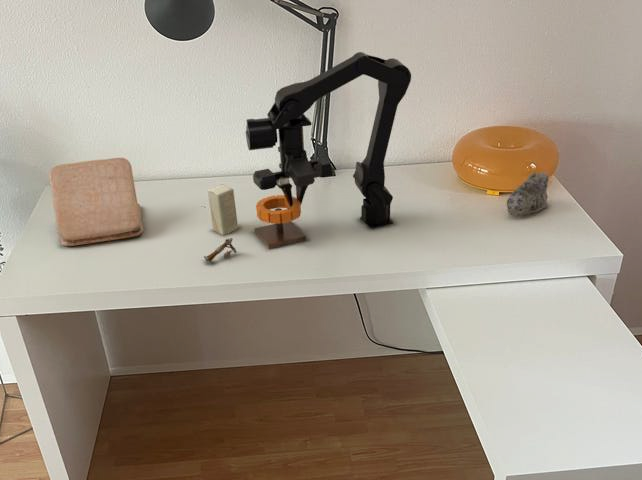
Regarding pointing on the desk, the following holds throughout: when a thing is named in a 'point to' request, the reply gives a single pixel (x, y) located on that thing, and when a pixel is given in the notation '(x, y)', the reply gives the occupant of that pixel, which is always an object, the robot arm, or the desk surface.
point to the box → (223, 209)
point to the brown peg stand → (280, 234)
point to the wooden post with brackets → (219, 249)
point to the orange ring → (278, 216)
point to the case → (95, 201)
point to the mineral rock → (529, 195)
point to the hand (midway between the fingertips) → (295, 206)
